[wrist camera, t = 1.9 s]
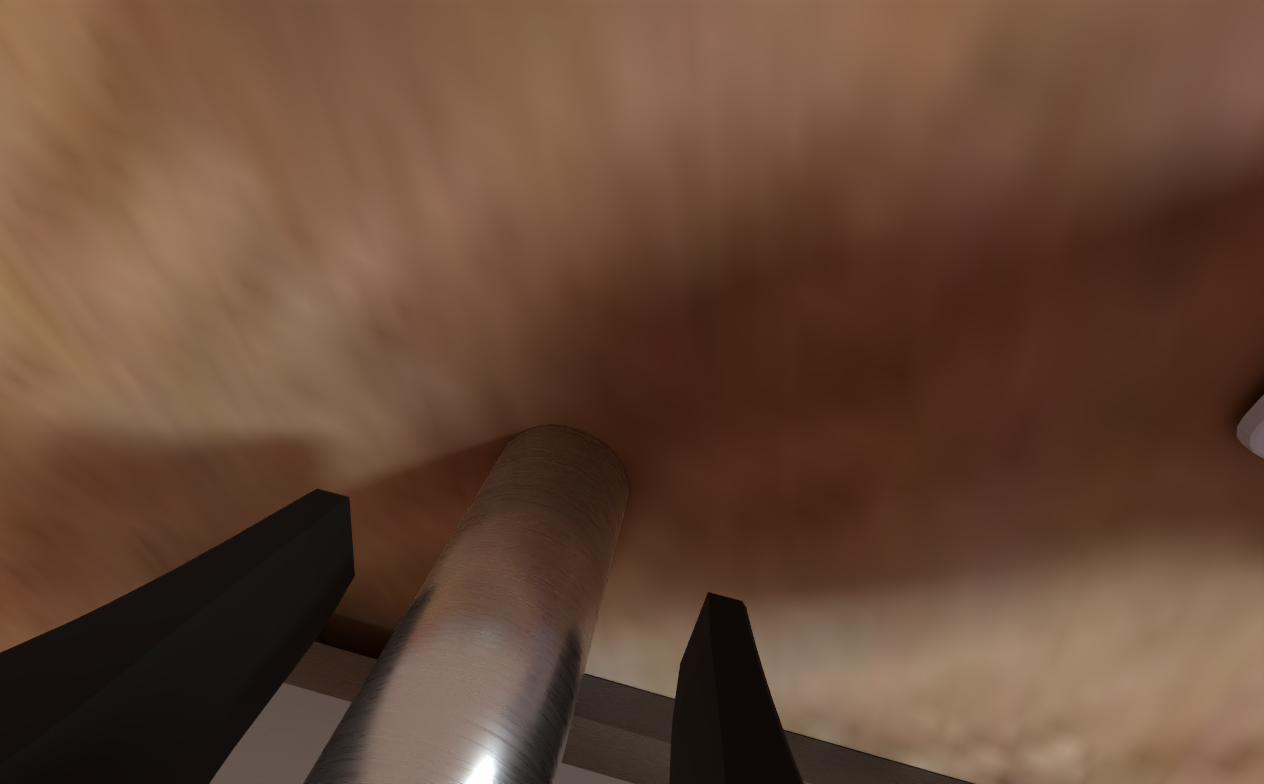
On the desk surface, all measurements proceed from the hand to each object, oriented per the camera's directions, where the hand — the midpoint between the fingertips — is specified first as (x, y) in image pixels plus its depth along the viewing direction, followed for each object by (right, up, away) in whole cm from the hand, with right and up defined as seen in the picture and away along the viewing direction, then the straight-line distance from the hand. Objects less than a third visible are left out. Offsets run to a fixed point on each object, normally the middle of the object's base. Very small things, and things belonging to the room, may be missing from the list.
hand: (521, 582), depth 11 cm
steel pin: (0, +1, +3) cm, 3 cm away
